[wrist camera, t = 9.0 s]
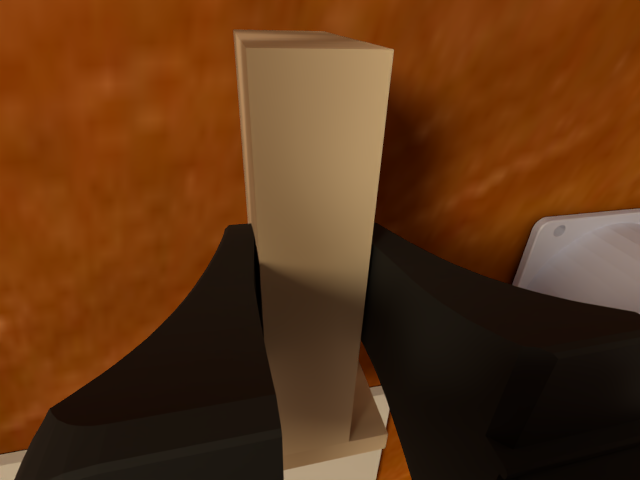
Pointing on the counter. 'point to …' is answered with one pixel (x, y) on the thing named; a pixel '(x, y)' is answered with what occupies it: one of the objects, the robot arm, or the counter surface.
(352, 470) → the mat
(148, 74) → the counter surface
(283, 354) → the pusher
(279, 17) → the counter surface
